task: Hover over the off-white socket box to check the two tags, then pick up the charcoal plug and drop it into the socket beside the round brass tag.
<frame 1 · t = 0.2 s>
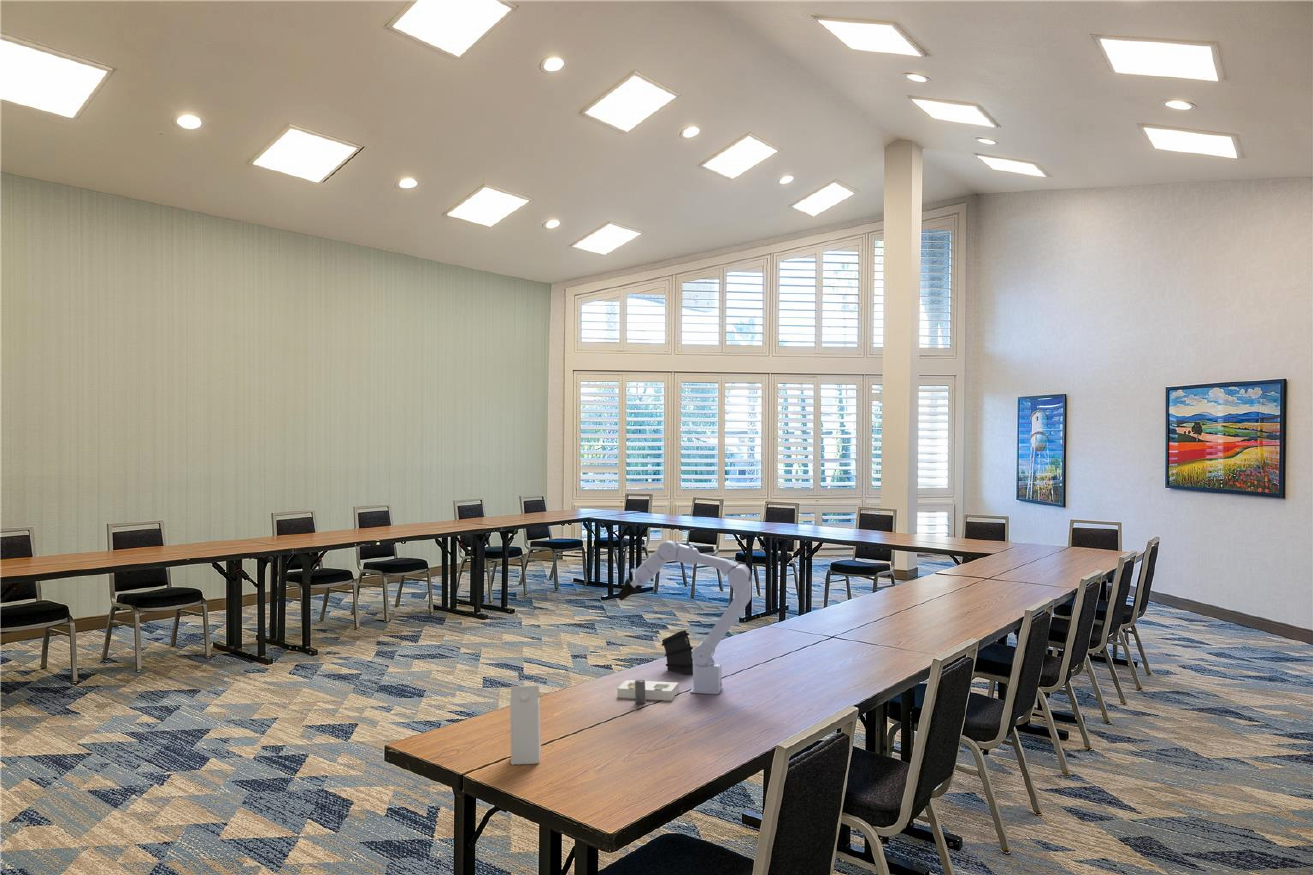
hand: (621, 595, 283), 31 cm above the table, tool tilted 45°, fingers open, 7 cm apart
magazine: (678, 671, 301), on the table
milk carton: (526, 760, 217), on the table
socket box: (648, 694, 273), on the table
plug: (640, 703, 264), on the table
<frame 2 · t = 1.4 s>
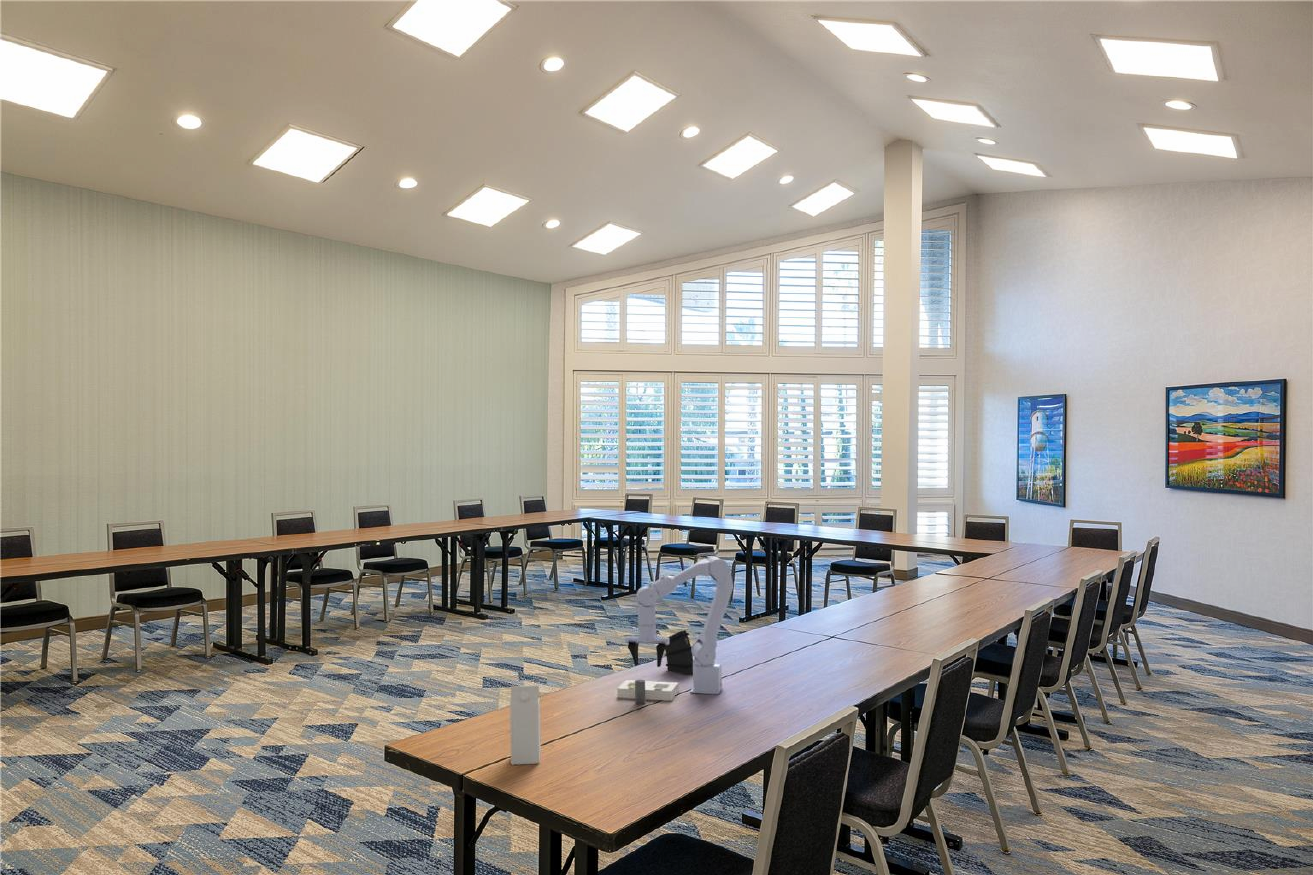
hand: (647, 665, 273), 9 cm above the table, tool pointing down, fingers open, 7 cm apart
nothing on the table moved.
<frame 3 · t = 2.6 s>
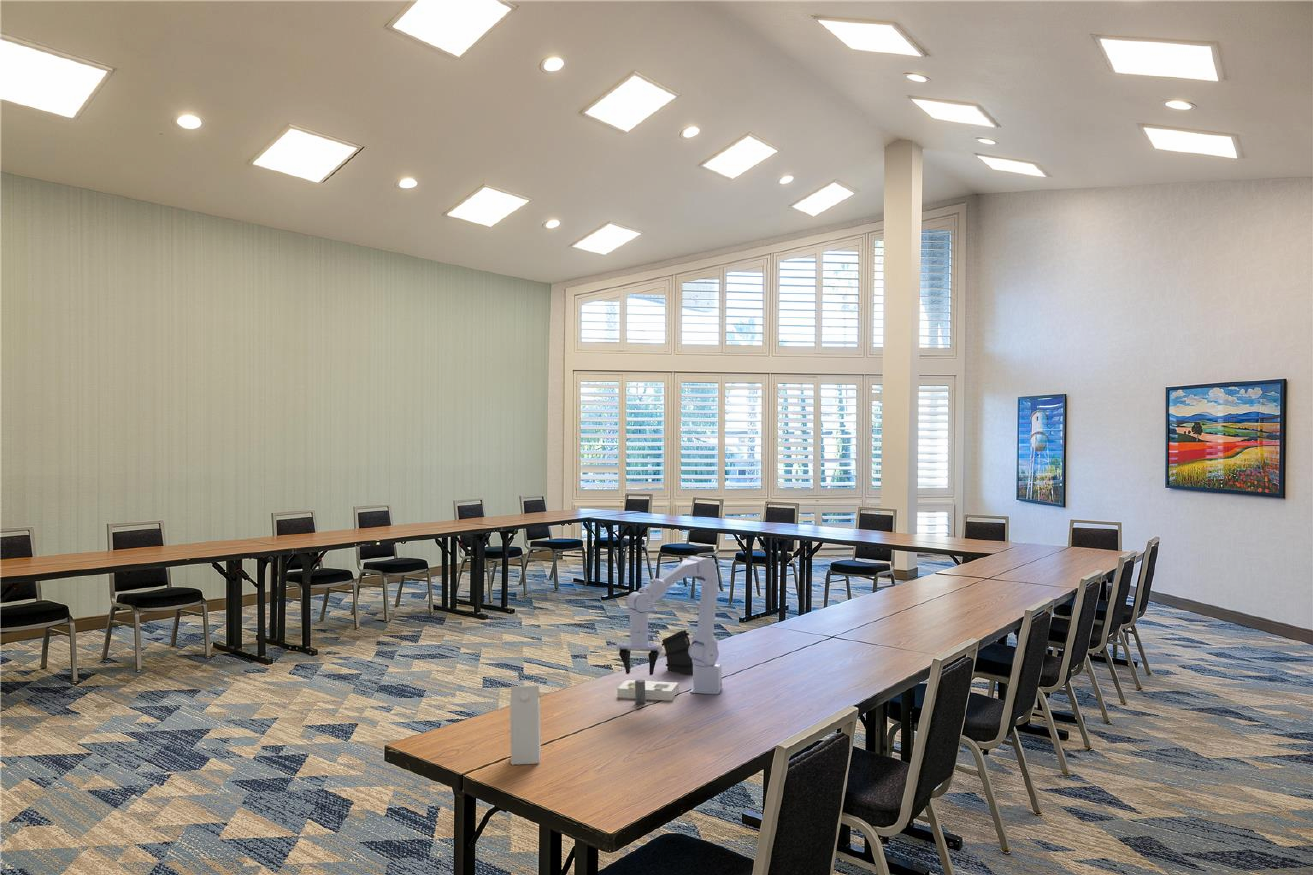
hand: (639, 673, 264), 9 cm above the table, tool pointing down, fingers open, 7 cm apart
nothing on the table moved.
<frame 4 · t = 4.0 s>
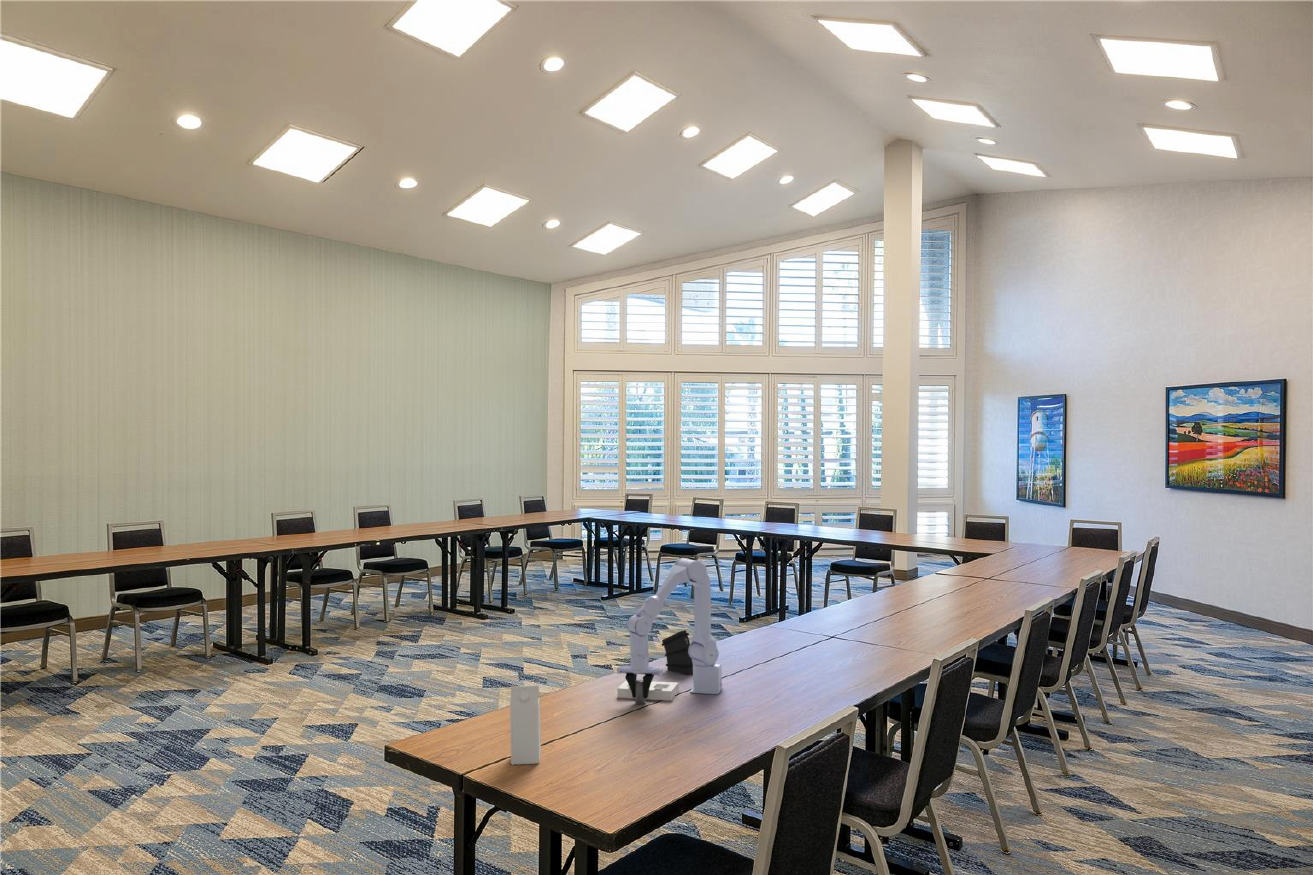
hand: (640, 697, 264), 2 cm above the table, tool pointing down, fingers closed on plug, 3 cm apart
plug: (640, 703, 264), on the table, touching gripper
everything else where it was.
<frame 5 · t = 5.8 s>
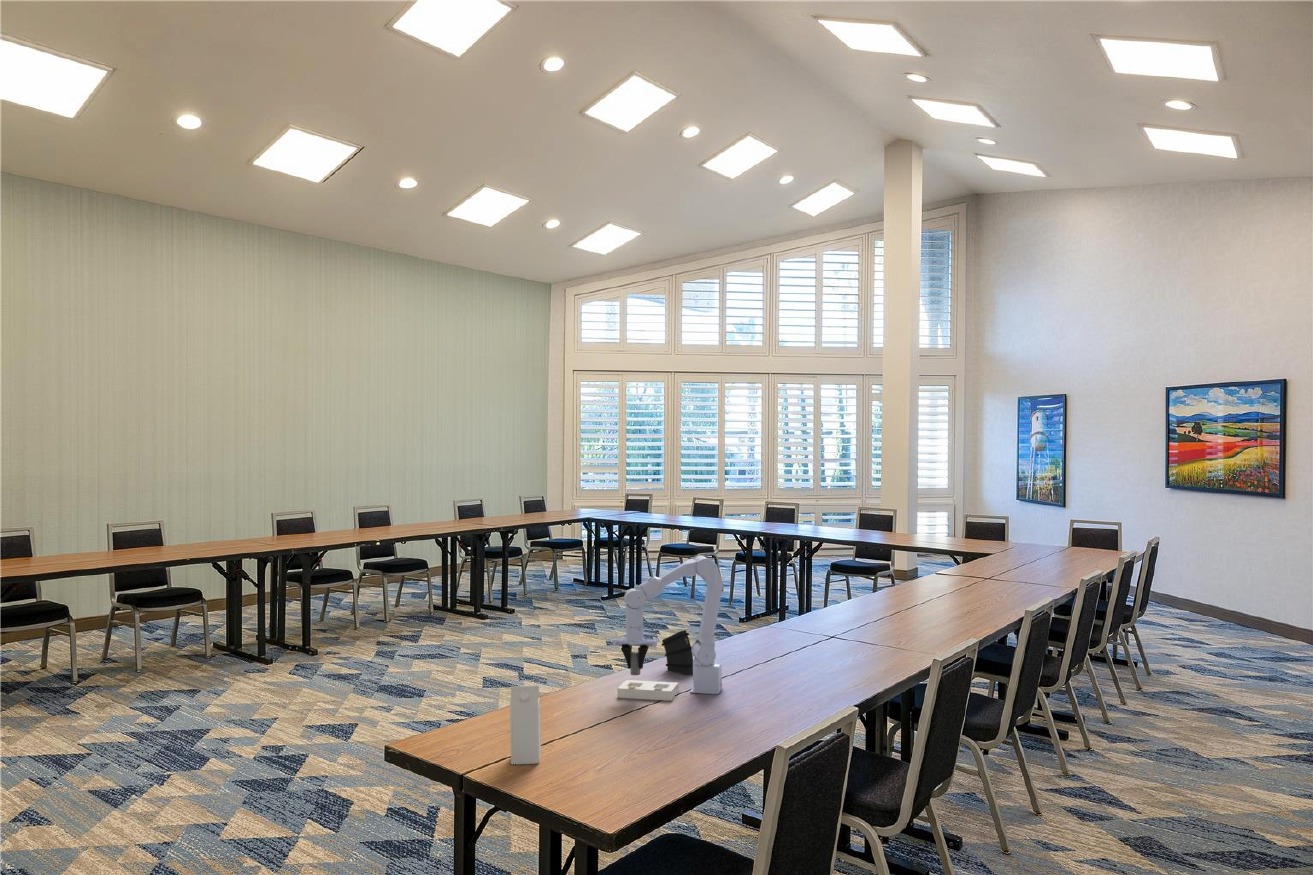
hand: (635, 667, 273), 9 cm above the table, tool pointing down, fingers closed on plug, 3 cm apart
plug: (635, 674, 273), point 7 cm above the table, touching gripper
everything else where it was.
when the fingers open (4 cm above the table, at t = 7.5 s): plug drops 2 cm, resting in socket box.
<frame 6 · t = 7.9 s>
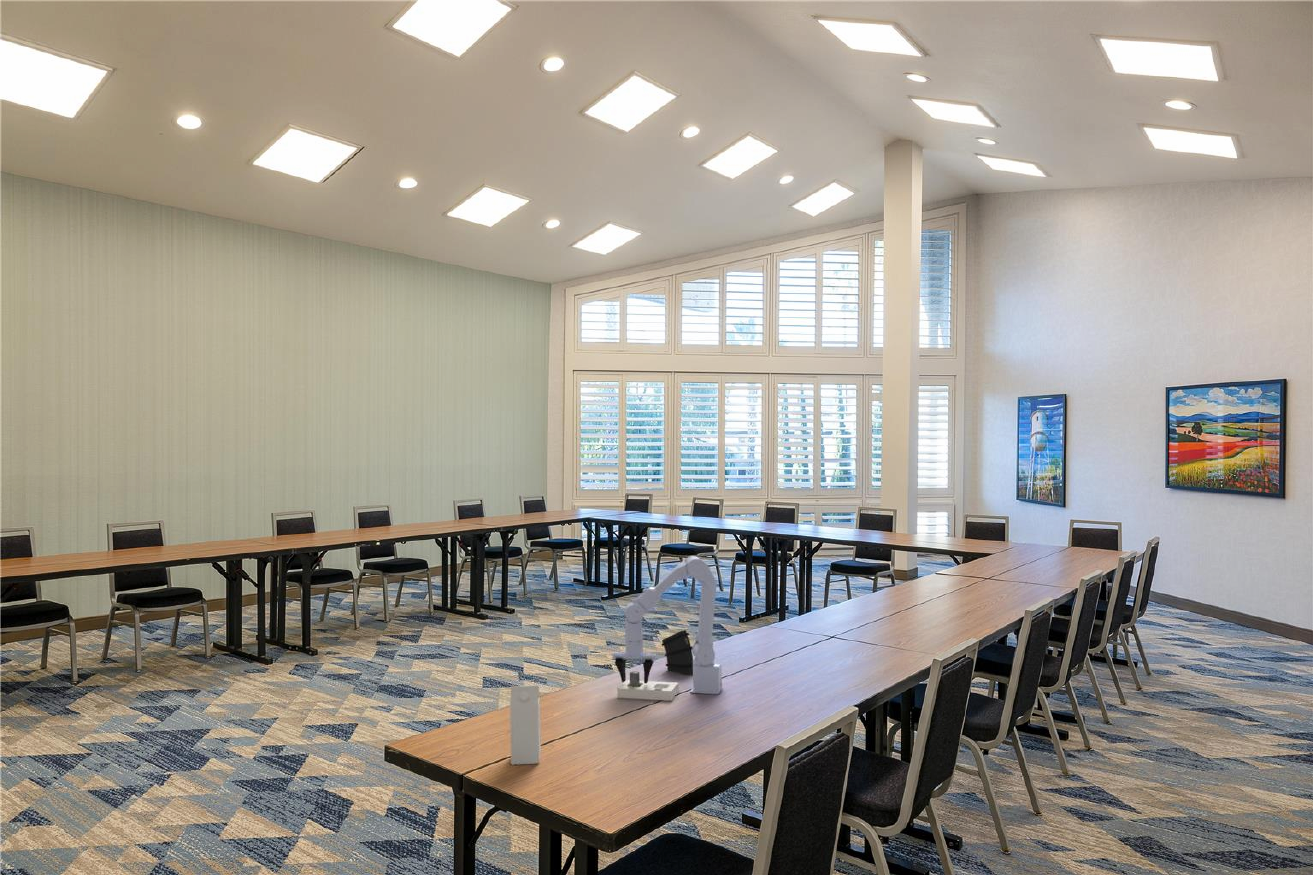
hand: (634, 681, 274), 4 cm above the table, tool pointing down, fingers open, 7 cm apart
plug: (634, 693, 274), resting in socket box
everything else where it was.
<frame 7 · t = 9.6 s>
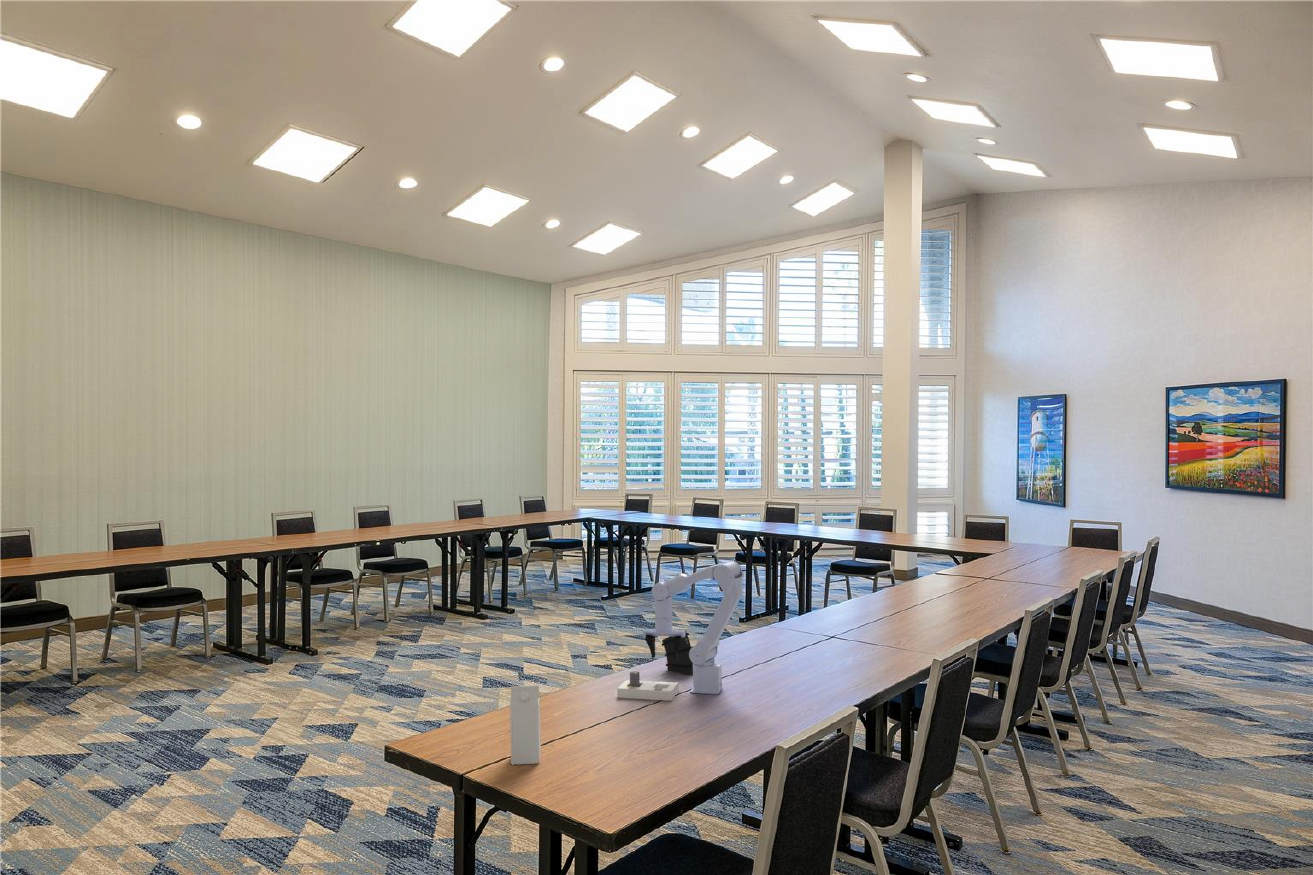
hand: (664, 657, 284), 9 cm above the table, tool pointing down, fingers open, 7 cm apart
nothing on the table moved.
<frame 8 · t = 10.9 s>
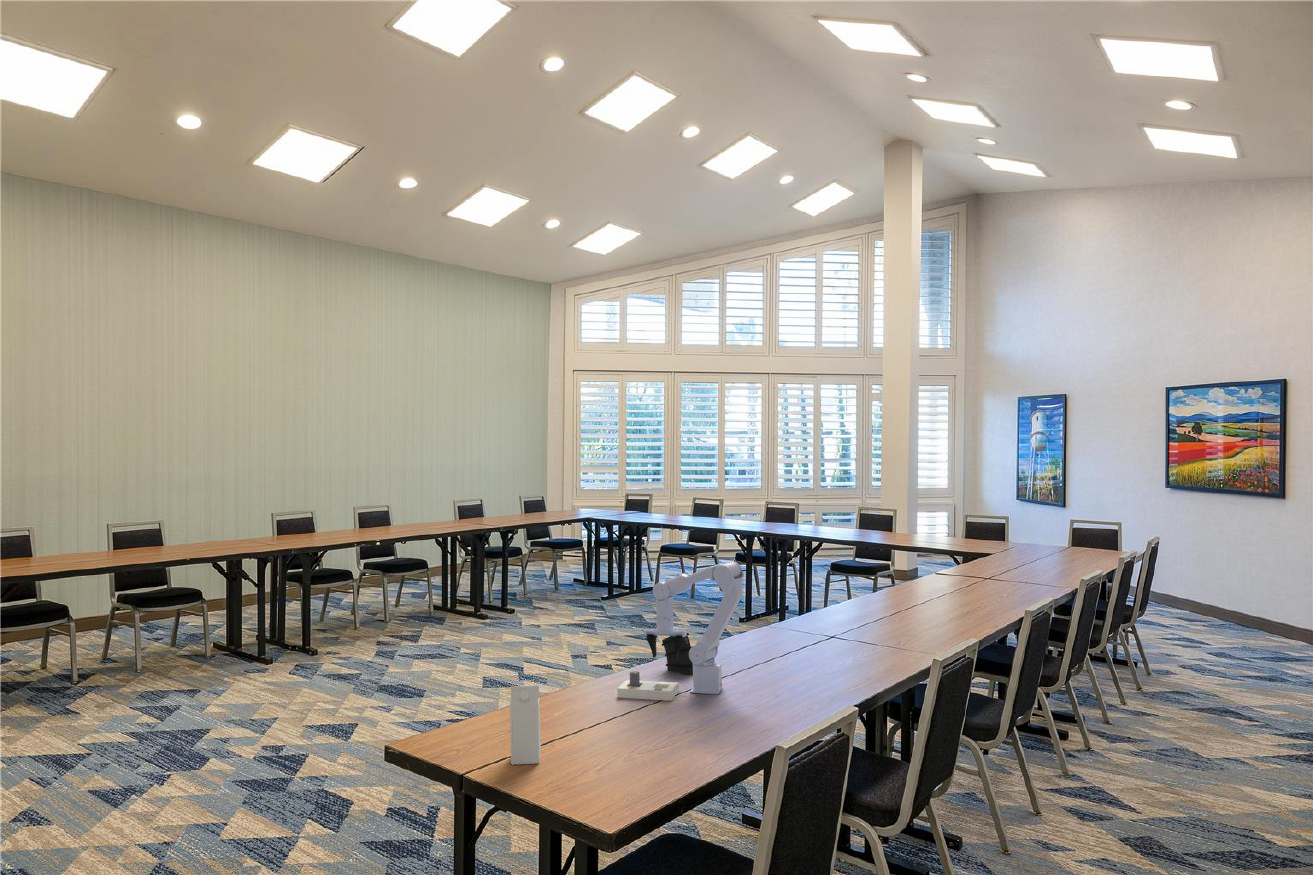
hand: (665, 657, 284), 9 cm above the table, tool pointing down, fingers open, 7 cm apart
nothing on the table moved.
at the end: plug 0.1 cm from the target spot on the socket box, point 0.0 cm above the socket box's base; plug tilted 0°; the gripper is holding nothing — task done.
